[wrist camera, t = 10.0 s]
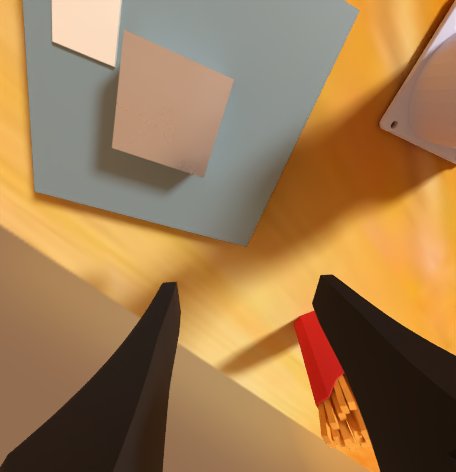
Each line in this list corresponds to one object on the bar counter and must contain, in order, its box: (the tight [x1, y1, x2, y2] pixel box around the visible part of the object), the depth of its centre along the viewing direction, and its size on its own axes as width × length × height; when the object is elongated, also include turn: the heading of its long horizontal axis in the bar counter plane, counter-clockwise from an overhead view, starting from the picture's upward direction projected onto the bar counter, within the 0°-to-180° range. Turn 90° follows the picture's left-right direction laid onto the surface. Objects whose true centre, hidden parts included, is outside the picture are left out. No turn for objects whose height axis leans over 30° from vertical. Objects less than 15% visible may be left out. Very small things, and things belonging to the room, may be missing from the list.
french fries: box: [294, 311, 372, 451], centre depth 24 cm, size 8×4×12 cm, turn 114°
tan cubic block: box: [112, 30, 234, 178], centre depth 13 cm, size 5×5×5 cm
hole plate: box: [23, 0, 360, 247], centre depth 15 cm, size 16×16×2 cm
